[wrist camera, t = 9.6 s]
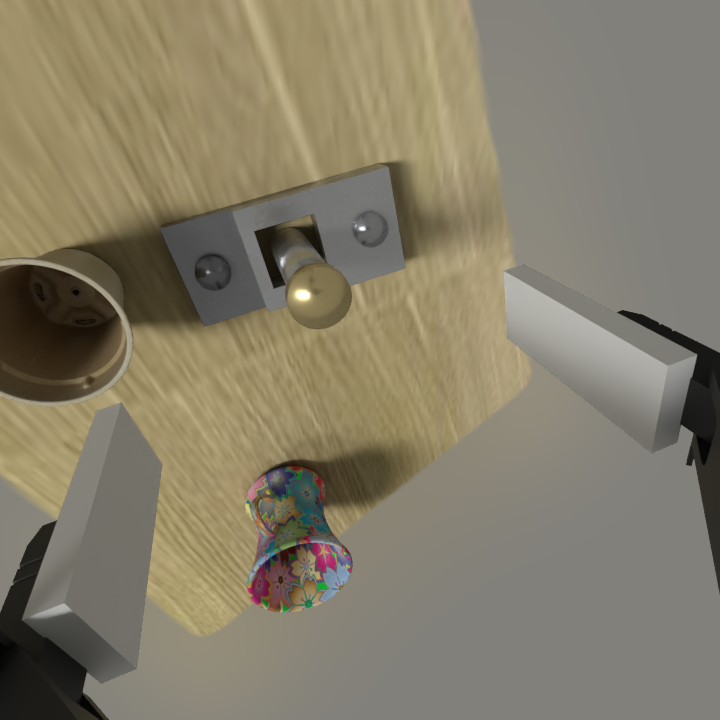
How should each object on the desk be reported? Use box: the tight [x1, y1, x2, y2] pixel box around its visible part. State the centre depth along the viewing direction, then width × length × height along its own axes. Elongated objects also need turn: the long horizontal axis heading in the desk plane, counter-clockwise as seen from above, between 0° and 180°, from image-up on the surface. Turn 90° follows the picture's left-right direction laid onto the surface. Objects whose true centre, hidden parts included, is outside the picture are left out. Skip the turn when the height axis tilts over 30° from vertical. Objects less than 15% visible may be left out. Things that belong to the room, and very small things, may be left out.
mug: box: [245, 466, 352, 612], centre depth 43 cm, size 12×9×11 cm
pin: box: [271, 227, 352, 329], centre depth 31 cm, size 4×4×12 cm
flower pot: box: [0, 249, 133, 407], centre depth 30 cm, size 9×9×9 cm
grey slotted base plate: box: [160, 163, 406, 327], centre depth 35 cm, size 8×17×3 cm, turn 103°
